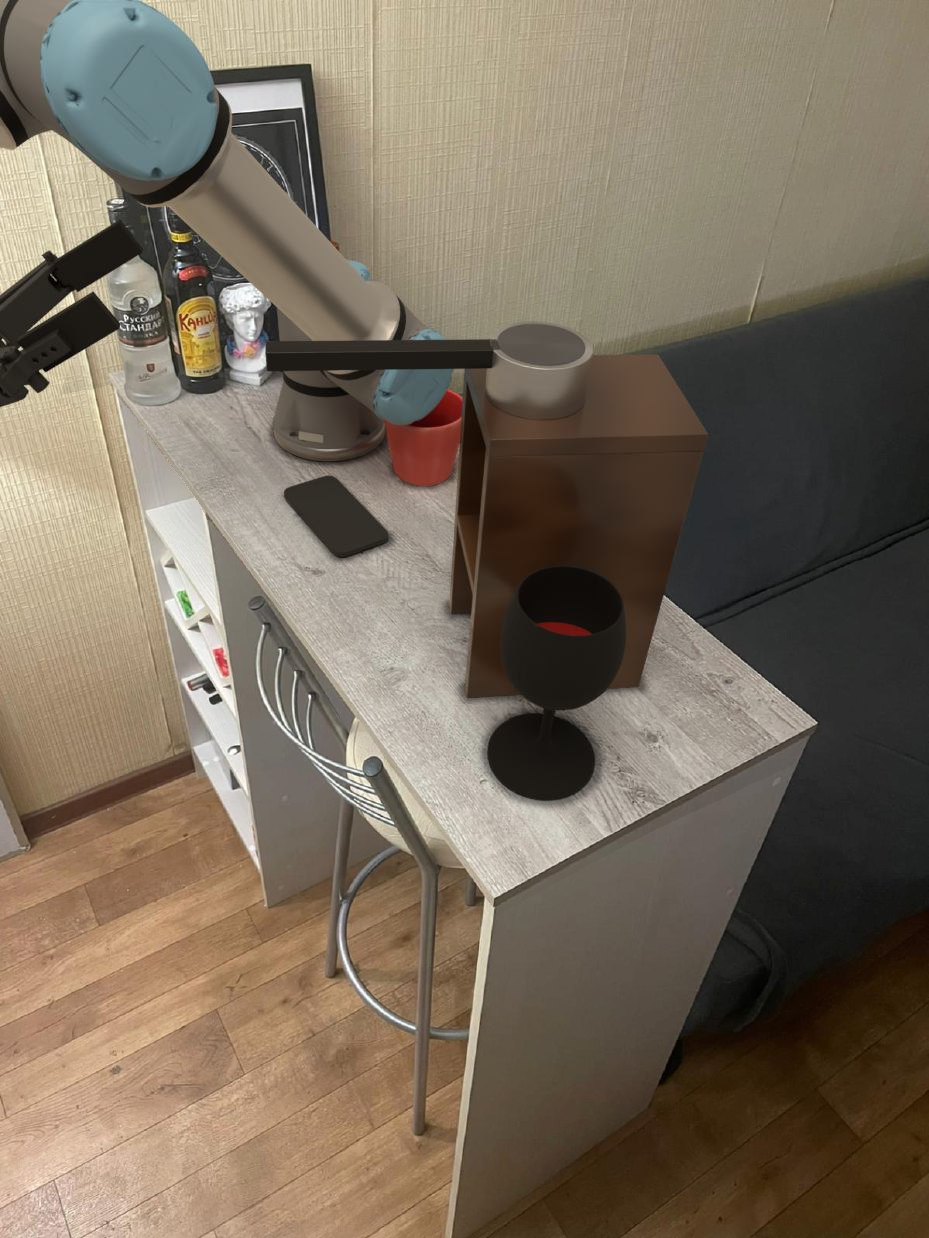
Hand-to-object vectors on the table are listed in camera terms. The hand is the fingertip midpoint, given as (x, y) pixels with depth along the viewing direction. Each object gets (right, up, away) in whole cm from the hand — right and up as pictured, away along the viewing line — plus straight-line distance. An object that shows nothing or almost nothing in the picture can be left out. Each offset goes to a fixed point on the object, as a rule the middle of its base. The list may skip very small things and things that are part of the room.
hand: (120, 270), depth 67 cm
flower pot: (+20, -6, +54) cm, 58 cm away
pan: (+23, -7, +8) cm, 25 cm away
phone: (+10, -13, +45) cm, 48 cm away
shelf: (+34, -29, +31) cm, 54 cm away
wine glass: (+33, -39, +19) cm, 55 cm away
